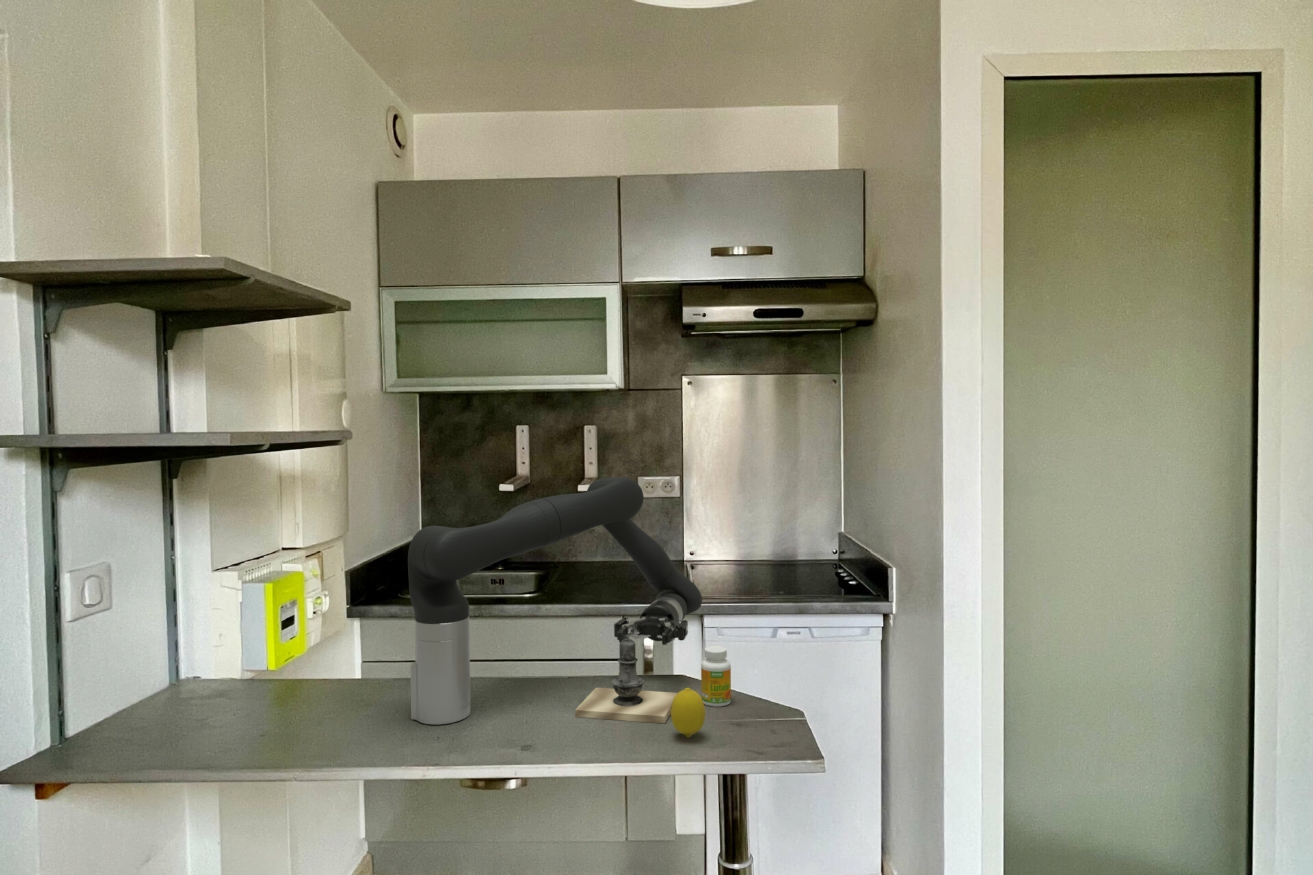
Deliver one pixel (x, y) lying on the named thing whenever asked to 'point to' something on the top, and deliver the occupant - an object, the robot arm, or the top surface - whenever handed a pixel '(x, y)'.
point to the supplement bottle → (716, 677)
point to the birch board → (649, 710)
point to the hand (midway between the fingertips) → (642, 638)
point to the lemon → (688, 712)
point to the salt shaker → (627, 676)
